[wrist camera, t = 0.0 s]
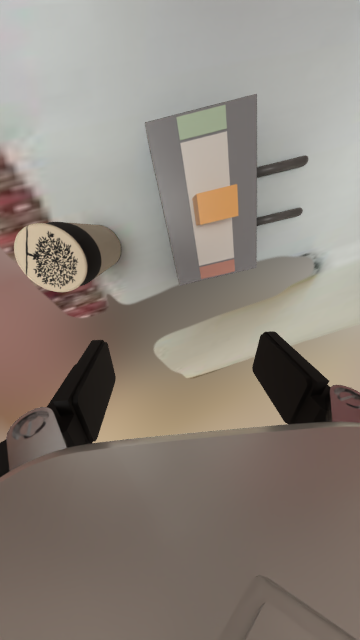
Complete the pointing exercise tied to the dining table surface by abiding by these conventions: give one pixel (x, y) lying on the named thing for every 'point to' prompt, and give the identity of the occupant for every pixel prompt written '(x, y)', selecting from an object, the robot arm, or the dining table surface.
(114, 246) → the travel mug
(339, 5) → the dining table surface
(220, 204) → the knob
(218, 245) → the box
